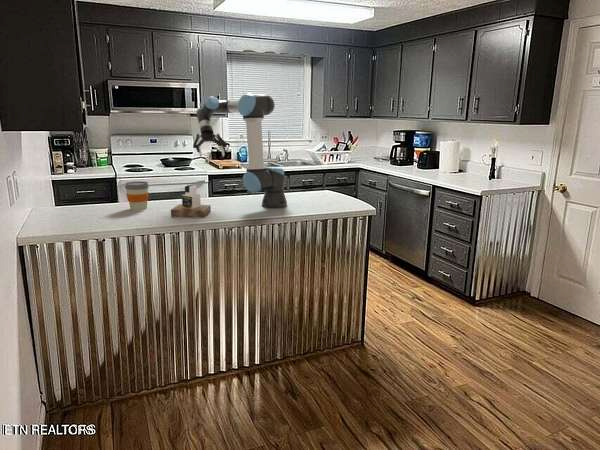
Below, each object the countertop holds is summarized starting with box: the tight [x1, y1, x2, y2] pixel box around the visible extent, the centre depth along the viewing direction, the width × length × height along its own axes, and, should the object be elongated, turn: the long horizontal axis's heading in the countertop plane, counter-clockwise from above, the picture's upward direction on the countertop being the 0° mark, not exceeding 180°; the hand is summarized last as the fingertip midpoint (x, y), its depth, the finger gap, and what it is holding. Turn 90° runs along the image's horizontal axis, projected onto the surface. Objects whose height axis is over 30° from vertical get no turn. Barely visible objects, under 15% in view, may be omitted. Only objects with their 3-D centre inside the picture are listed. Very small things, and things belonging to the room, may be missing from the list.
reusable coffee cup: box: [124, 180, 150, 211], centre depth 252 cm, size 13×13×15 cm
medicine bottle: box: [181, 184, 202, 209], centre depth 240 cm, size 7×7×12 cm
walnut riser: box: [170, 204, 212, 219], centre depth 241 cm, size 18×14×4 cm
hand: (212, 155), depth 262 cm, fingers open, 13 cm apart
